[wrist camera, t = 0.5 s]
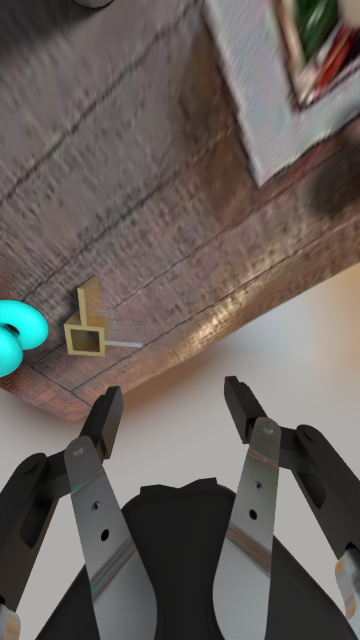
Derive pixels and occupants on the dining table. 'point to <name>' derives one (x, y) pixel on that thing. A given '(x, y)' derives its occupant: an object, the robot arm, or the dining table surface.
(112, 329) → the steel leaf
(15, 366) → the donuts
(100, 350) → the bracket
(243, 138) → the dining table surface
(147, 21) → the dining table surface
